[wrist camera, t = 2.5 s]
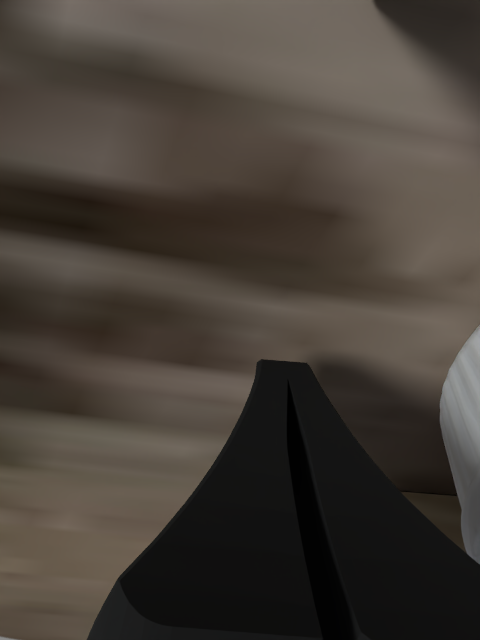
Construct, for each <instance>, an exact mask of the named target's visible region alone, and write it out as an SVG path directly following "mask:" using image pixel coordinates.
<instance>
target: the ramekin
mask: <svg viewBox="0 0 480 640" xmlns="http://www.w3.org/2000/svg"><path fill="white" fill-rule="evenodd" d="M440 426H441V430H442V436H443V441H444V445H445V449H446V452H447V456H448V460H449V464H450V468H451V472H452V476H453V480H454V484H455V487H456V491H457V495H458V498H459V502H460V505H461V509H462V513H461V531H462V537H463V542H464V546H465V549H466V552H467V554H468V555H469V556H470V557H471V558H473V559H474V560H475V561H476V562H477V563H478V564H480V325H479V326H478V327H477V328H476V330H475V331H474V332H473V333H472V335H471V336H470V337H469V339H468V340H467V341H466V343H465V344H464V346H463V347H462V349H461V350H460V351H459V353H458V354H457V356H456V358H455V361H454V362H453V364H452V365H451V367H450V369H449V371H448V375H447V378H446V380H445V382H444V384H443V388H442V396H441V399H440Z"/></svg>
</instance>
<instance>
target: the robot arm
mask: <svg viewBox="0 0 480 640" xmlns="http://www.w3.org/2000/svg"><path fill="white" fill-rule="evenodd" d="M87 640H480V564H478V563H477V562H476V561H475V560H474V559H473V558H471V557H470V556H469V555H468V554H467V553H466V552H464V551H463V550H462V549H461V548H460V547H459V546H457V545H456V544H455V543H454V542H453V541H452V540H450V539H449V538H448V537H447V536H446V535H445V534H444V533H443V532H441V531H440V530H439V529H438V528H437V527H436V526H435V525H434V524H433V523H432V522H431V521H430V520H429V519H428V518H427V517H426V516H425V515H424V514H423V513H421V512H420V511H419V510H418V509H417V508H416V507H415V506H414V505H413V504H412V503H411V502H410V501H409V500H408V499H407V498H406V497H405V496H404V495H403V494H402V493H401V492H400V491H399V490H398V489H397V488H396V486H395V485H394V484H393V483H392V482H391V481H390V480H389V479H388V478H387V477H386V475H385V474H384V473H383V472H382V471H381V470H380V469H379V467H378V466H377V465H376V464H375V463H374V461H373V460H372V459H371V458H370V457H369V455H368V454H367V453H366V452H365V450H364V449H363V448H362V446H361V445H360V444H359V443H358V441H357V440H356V439H355V437H354V436H353V435H352V433H351V432H350V430H349V429H348V428H347V426H346V425H345V423H344V422H343V420H342V419H341V417H340V416H339V415H338V413H337V412H336V410H335V409H334V407H333V406H332V404H331V402H330V401H329V399H328V398H327V396H326V394H325V393H324V391H323V389H322V388H321V386H320V384H319V383H318V381H317V379H316V377H315V375H314V374H313V372H312V370H311V368H310V366H309V365H308V364H307V363H301V362H288V361H276V360H263V359H261V360H260V361H258V362H257V366H256V375H255V379H254V383H253V386H252V389H251V392H250V394H249V397H248V399H247V402H246V404H245V406H244V409H243V411H242V413H241V415H240V417H239V419H238V421H237V423H236V425H235V427H234V429H233V431H232V433H231V435H230V437H229V439H228V440H227V442H226V444H225V446H224V447H223V449H222V451H221V452H220V454H219V456H218V457H217V459H216V460H215V462H214V463H213V465H212V466H211V468H210V469H209V471H208V472H207V474H206V475H205V477H204V478H203V479H202V481H201V482H200V484H199V485H198V487H197V488H196V489H195V491H194V492H193V493H192V495H191V496H190V497H189V499H188V500H187V501H186V502H185V504H184V505H183V506H182V507H181V509H180V510H179V511H178V512H177V513H176V515H175V516H174V517H173V518H172V519H171V521H170V522H169V523H168V524H167V525H166V527H165V528H164V529H163V530H162V531H161V533H160V534H159V535H158V536H157V537H156V538H155V539H154V540H153V542H152V543H151V544H150V545H149V546H148V547H147V548H146V549H145V550H144V551H143V552H142V553H141V554H140V555H139V556H138V557H137V558H136V559H135V561H134V562H133V563H132V564H131V565H130V566H129V567H128V568H127V569H126V570H125V571H124V572H123V573H122V574H121V575H120V576H119V578H118V579H117V581H116V583H115V585H114V586H113V588H112V590H111V592H110V593H109V595H108V597H107V599H106V601H105V602H104V604H103V606H102V608H101V610H100V612H99V614H98V616H97V618H96V620H95V622H94V624H93V626H92V629H91V631H90V633H89V636H88V638H87Z"/></svg>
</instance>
